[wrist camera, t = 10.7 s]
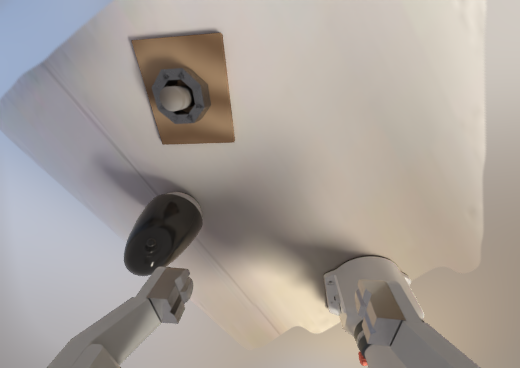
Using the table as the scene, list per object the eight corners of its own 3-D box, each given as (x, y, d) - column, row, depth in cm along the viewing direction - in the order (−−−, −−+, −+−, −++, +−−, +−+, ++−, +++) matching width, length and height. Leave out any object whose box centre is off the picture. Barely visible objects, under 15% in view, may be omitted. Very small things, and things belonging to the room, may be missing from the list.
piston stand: (234, 140, 31) (226, 152, 26) (165, 142, 33) (144, 154, 27) (222, 34, 25) (207, 21, 20) (136, 41, 26) (100, 31, 21)
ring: (213, 118, 29) (207, 122, 26) (172, 120, 30) (162, 124, 27) (205, 68, 26) (197, 66, 23) (159, 71, 27) (146, 70, 24)
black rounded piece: (217, 200, 37) (184, 266, 24) (196, 232, 42) (159, 303, 29) (169, 173, 35) (103, 229, 22) (152, 210, 40) (90, 275, 27)
